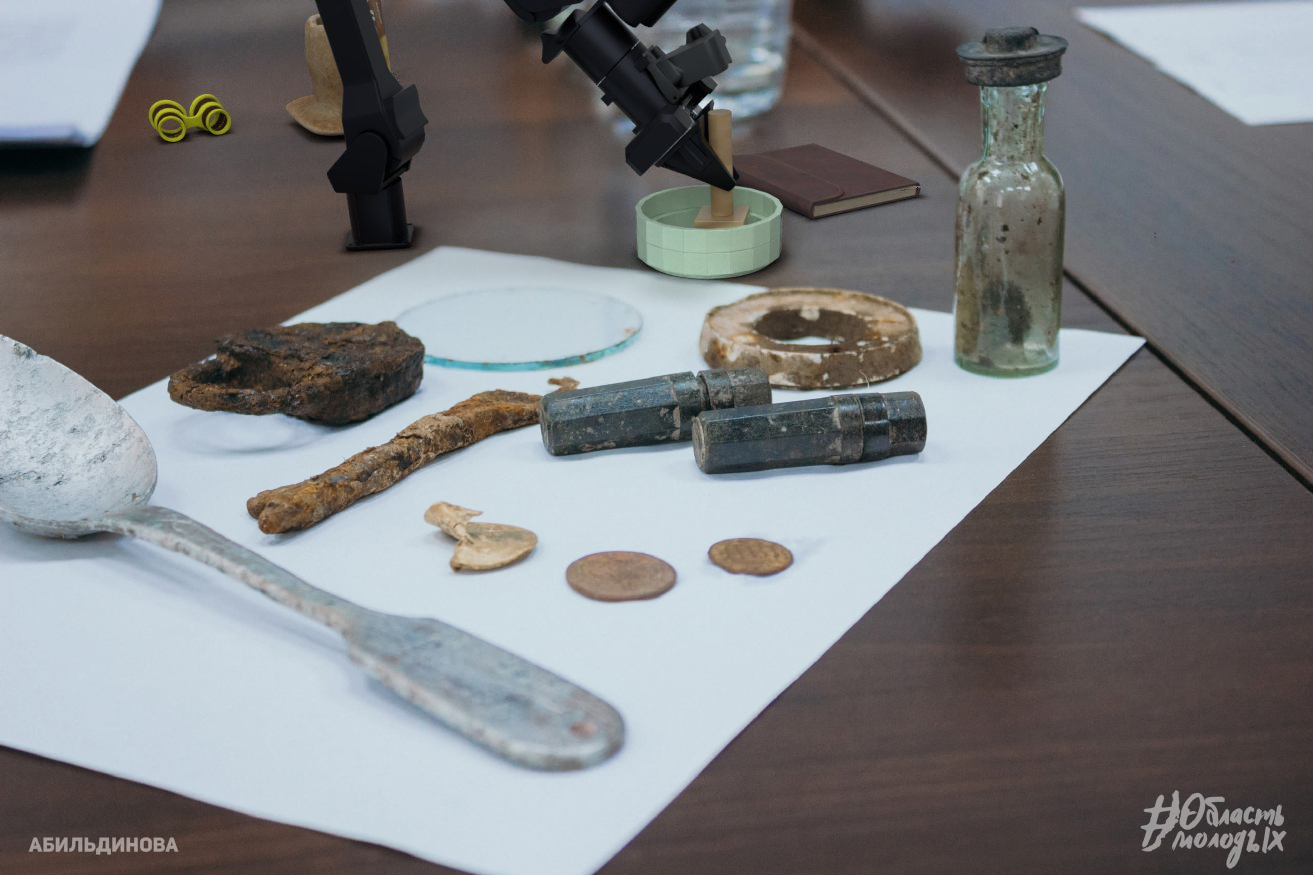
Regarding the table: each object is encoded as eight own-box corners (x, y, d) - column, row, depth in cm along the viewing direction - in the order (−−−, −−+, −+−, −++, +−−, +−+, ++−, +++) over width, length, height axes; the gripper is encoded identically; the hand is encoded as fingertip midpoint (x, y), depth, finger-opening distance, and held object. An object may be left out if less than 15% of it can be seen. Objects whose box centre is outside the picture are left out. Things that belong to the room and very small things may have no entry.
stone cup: (400, 134, 164) (386, 18, 157) (312, 146, 159) (293, 28, 152) (369, 111, 176) (354, 2, 169) (286, 122, 171) (268, 11, 164)
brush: (695, 256, 118) (689, 118, 111) (703, 240, 122) (698, 105, 116) (744, 257, 117) (741, 117, 111) (750, 240, 121) (748, 105, 115)
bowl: (793, 277, 114) (795, 226, 112) (643, 285, 113) (642, 234, 111) (766, 228, 127) (767, 181, 124) (631, 235, 126) (629, 188, 123)
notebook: (815, 155, 150) (815, 139, 149) (920, 196, 135) (921, 178, 134) (712, 175, 144) (712, 158, 143) (810, 219, 129) (810, 201, 128)
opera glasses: (162, 150, 162) (156, 114, 159) (151, 134, 166) (145, 99, 163) (235, 138, 167) (230, 103, 164) (222, 123, 170) (218, 89, 167)
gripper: (658, 18, 101) (786, 154, 104) (695, -16, 117) (805, 102, 120) (571, 110, 106) (696, 237, 109) (618, 66, 122) (726, 177, 126)
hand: (734, 184), depth 116 cm, fingers closed on brush, 2 cm apart
